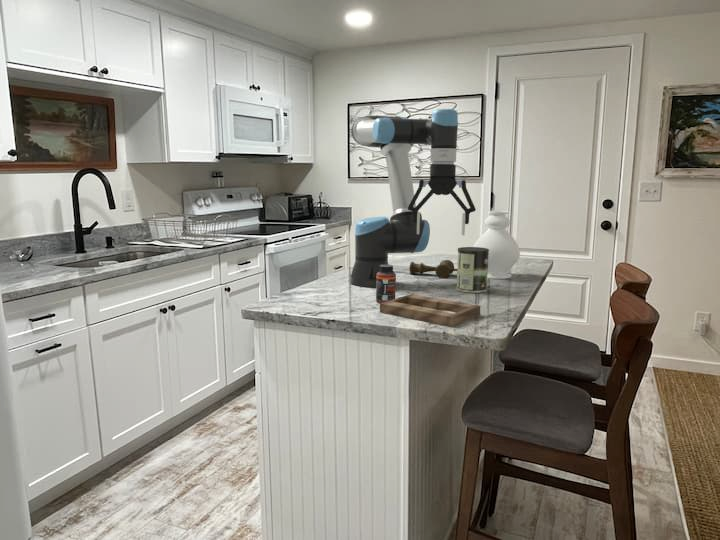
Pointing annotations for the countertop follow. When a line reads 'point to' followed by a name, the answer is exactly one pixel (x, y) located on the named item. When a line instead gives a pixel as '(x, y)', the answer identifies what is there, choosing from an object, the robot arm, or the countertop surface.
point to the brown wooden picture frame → (430, 309)
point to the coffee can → (472, 269)
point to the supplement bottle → (385, 284)
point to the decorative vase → (499, 245)
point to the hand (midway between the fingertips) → (440, 234)
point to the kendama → (434, 268)
